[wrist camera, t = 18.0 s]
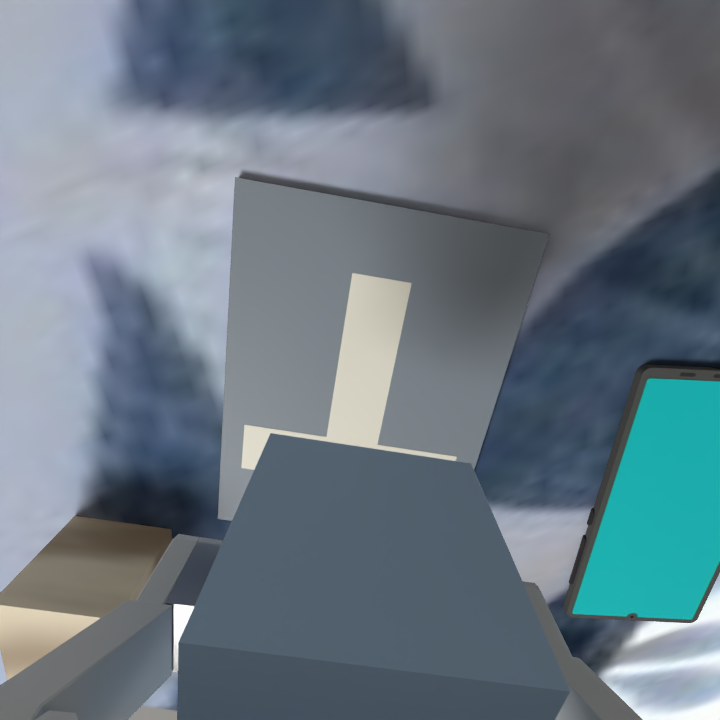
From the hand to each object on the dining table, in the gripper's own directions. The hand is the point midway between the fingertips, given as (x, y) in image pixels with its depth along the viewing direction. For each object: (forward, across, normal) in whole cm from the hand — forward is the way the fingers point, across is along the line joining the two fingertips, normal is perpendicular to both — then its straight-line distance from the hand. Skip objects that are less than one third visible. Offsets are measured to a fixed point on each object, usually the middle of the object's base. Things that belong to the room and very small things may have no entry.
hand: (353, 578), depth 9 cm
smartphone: (+10, -16, +3) cm, 19 cm away
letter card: (+9, 0, 0) cm, 9 cm away
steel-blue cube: (+2, 0, 0) cm, 2 cm away
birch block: (+10, +11, +12) cm, 19 cm away
